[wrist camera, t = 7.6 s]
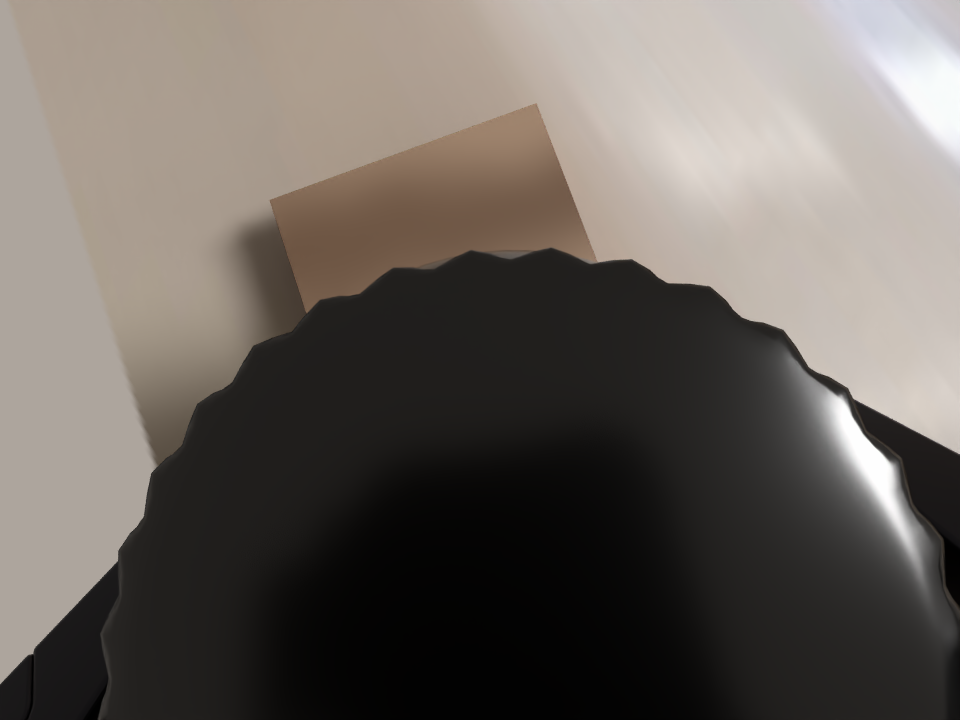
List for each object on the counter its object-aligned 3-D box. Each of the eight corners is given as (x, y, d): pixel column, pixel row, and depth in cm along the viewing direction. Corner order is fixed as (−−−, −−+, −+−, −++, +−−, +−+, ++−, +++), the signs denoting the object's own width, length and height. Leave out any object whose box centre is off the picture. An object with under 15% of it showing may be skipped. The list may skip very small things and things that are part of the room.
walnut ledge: (737, 687, 19) (780, 739, 16) (482, 775, 19) (478, 843, 16) (532, 147, 21) (536, 103, 18) (303, 230, 21) (269, 200, 18)
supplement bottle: (344, 550, 15) (-316, 1073, 3) (428, 304, 15) (153, -76, 4) (597, 641, 14) (1025, 1736, 2) (675, 384, 15) (1335, 249, 3)
